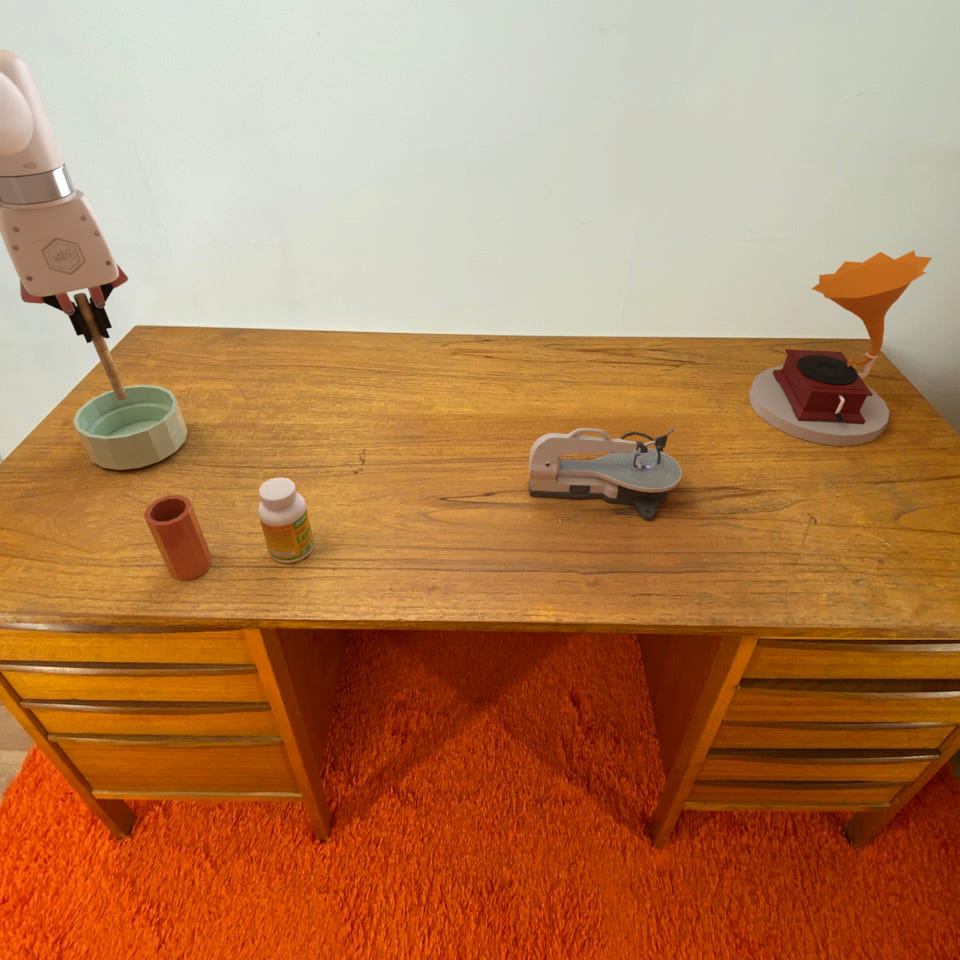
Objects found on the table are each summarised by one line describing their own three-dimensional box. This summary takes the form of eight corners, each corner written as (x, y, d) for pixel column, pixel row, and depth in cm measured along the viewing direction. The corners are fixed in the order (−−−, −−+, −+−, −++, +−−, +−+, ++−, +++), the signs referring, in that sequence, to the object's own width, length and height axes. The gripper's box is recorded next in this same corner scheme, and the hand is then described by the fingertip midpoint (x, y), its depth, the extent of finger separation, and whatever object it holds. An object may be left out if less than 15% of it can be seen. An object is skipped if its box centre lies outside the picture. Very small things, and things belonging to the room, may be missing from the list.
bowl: (100, 485, 86) (82, 449, 82) (82, 436, 95) (66, 402, 91) (199, 452, 92) (187, 417, 88) (174, 409, 100) (163, 375, 96)
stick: (118, 401, 88) (74, 298, 78) (115, 396, 88) (72, 294, 79) (128, 398, 88) (86, 295, 78) (126, 393, 89) (84, 291, 79)
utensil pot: (175, 586, 73) (150, 531, 67) (164, 560, 76) (139, 505, 70) (217, 569, 75) (196, 513, 69) (205, 544, 78) (184, 489, 72)
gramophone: (855, 378, 111) (922, 232, 94) (907, 449, 95) (998, 289, 79) (735, 372, 112) (781, 226, 95) (767, 442, 96) (828, 282, 80)
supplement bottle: (307, 565, 76) (293, 505, 70) (263, 563, 76) (245, 503, 70) (319, 533, 80) (307, 474, 74) (277, 531, 80) (261, 471, 74)
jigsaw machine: (535, 453, 76) (531, 400, 85) (529, 517, 83) (526, 462, 91) (703, 458, 76) (682, 404, 84) (683, 522, 83) (666, 466, 91)
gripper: (-49, 207, 64) (32, 366, 76) (116, 182, 71) (167, 332, 83) (-53, 187, 69) (24, 340, 81) (103, 166, 76) (152, 310, 88)
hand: (96, 335), depth 82 cm, fingers closed on stick, 1 cm apart
